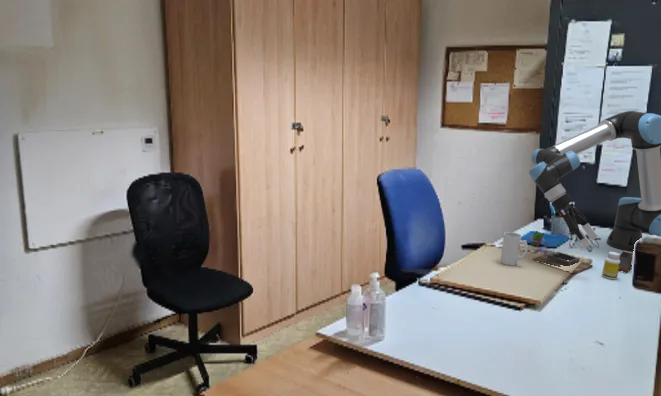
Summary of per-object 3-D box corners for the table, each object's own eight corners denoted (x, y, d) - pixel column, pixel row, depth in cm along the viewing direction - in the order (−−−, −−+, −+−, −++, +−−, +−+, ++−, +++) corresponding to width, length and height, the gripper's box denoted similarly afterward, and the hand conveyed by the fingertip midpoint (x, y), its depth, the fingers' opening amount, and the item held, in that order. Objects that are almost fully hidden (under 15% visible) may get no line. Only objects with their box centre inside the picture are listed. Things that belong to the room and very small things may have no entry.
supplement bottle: (618, 280, 219) (623, 256, 216) (603, 278, 220) (608, 254, 217) (614, 275, 224) (619, 252, 222) (600, 273, 225) (604, 250, 223)
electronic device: (632, 268, 235) (635, 250, 233) (626, 273, 227) (630, 256, 226) (620, 265, 237) (624, 247, 236) (614, 270, 230) (618, 253, 228)
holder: (551, 254, 245) (552, 247, 244) (592, 267, 232) (593, 260, 231) (532, 260, 235) (533, 253, 234) (574, 274, 222) (576, 267, 221)
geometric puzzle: (548, 245, 249) (547, 228, 253) (532, 244, 249) (531, 227, 253) (542, 250, 256) (541, 234, 259) (527, 249, 256) (526, 232, 259)
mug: (497, 262, 229) (501, 234, 226) (503, 258, 234) (507, 230, 231) (521, 269, 223) (526, 240, 220) (527, 265, 228) (532, 236, 226)
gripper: (558, 197, 240) (589, 240, 235) (542, 207, 219) (576, 254, 215) (573, 187, 235) (606, 230, 231) (558, 197, 215) (594, 244, 211)
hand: (591, 242), depth 223 cm, fingers open, 13 cm apart
